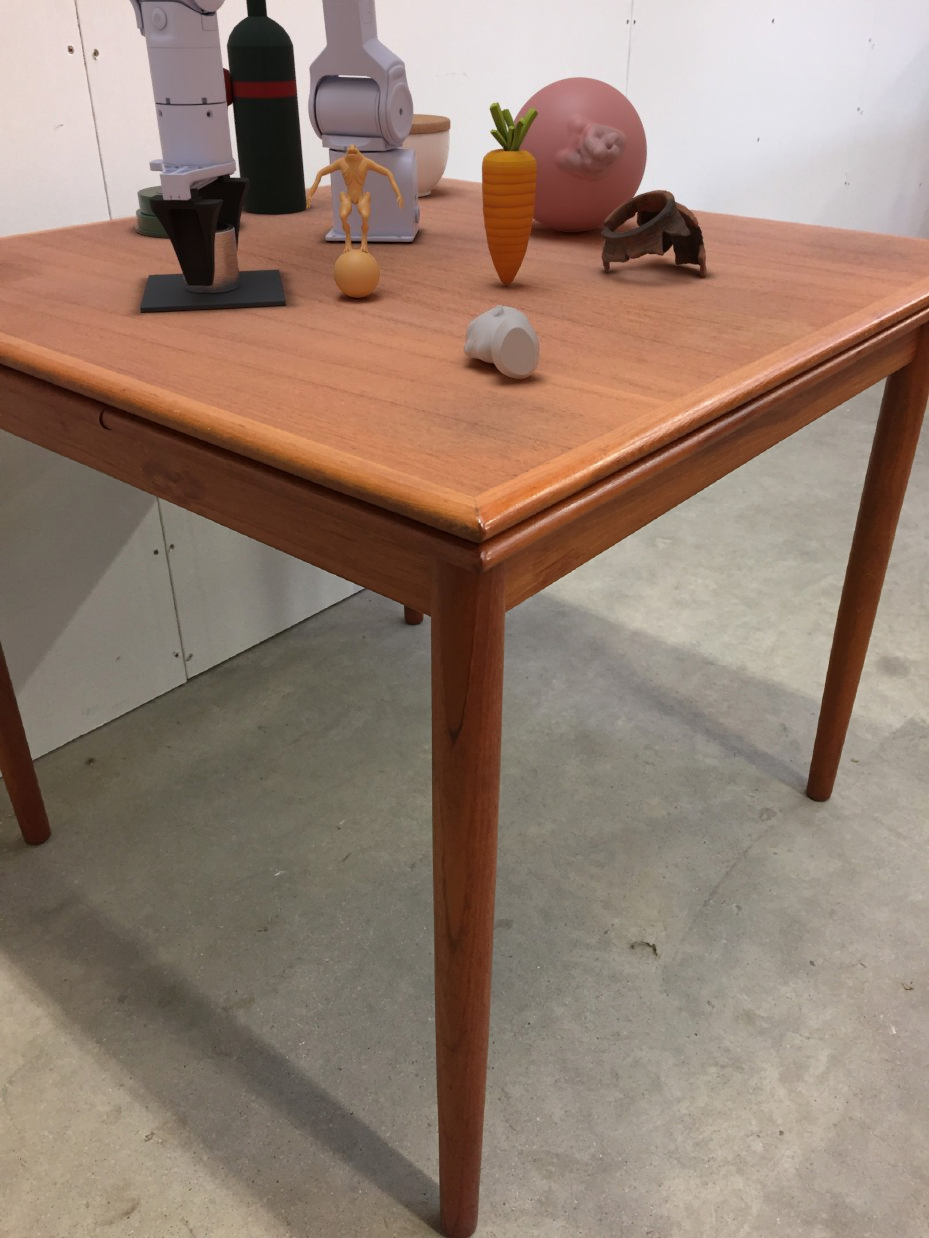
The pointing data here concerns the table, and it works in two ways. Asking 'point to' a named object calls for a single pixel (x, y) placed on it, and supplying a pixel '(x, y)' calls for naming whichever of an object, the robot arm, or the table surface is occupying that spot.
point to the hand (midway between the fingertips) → (212, 274)
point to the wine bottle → (265, 113)
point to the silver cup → (222, 264)
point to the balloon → (583, 152)
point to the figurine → (357, 266)
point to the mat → (253, 292)
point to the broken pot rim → (654, 231)
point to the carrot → (508, 193)
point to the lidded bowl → (429, 149)
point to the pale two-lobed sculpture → (504, 341)
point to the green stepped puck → (149, 214)
